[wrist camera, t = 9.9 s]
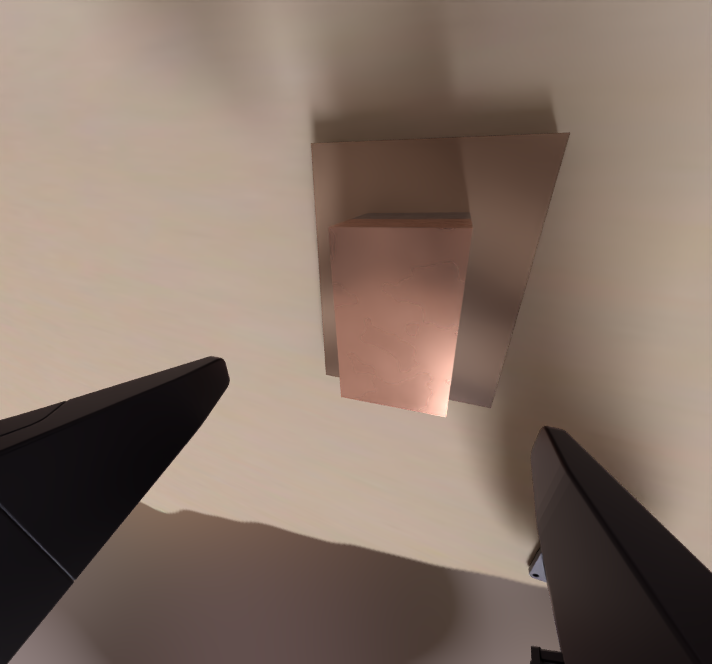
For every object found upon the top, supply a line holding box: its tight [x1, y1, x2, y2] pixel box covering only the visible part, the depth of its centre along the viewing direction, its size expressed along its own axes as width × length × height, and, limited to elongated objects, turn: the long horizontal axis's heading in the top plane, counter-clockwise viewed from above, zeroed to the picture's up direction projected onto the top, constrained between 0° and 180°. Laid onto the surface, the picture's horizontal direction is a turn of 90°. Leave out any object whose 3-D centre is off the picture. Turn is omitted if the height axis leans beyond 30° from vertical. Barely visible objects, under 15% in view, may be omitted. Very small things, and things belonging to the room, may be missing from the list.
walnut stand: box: [311, 133, 570, 408], centre depth 17 cm, size 14×11×2 cm
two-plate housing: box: [328, 212, 473, 417], centre depth 14 cm, size 5×8×5 cm, turn 3°
